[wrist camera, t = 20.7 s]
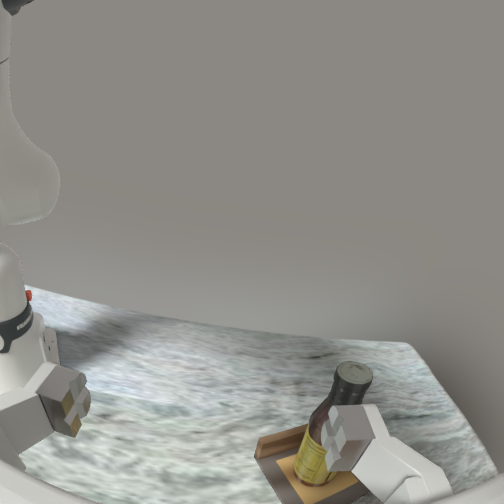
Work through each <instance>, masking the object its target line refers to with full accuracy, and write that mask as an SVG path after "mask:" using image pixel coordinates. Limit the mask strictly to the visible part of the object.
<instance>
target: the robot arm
mask: <svg viewBox="0 0 504 504" xmlns="http://www.w3.org/2000/svg"><path fill="white" fill-rule="evenodd" d="M32 1H34V0H0V225H19V224H23V223H28V222H32V221H35V220H39V219H43V218H46V216H48V214H49V213H50V212H51V210H52V209H53V207H54V206H55V204H56V201H57V199H58V195H59V191H60V176H59V171H58V168H57V165H56V164H55V162H54V160H53V159H52V157H51V156H50V155H49V154H48V153H46V152H44V151H42V150H41V149H39V148H38V147H37V146H35V145H34V144H33V143H32V142H31V141H30V140H29V139H28V138H27V136H26V135H25V134H24V133H23V131H22V130H21V128H20V127H19V125H18V123H17V121H16V119H15V116H14V113H13V110H12V105H11V97H10V83H9V65H10V44H11V42H10V41H11V15H12V16H13V15H15V14H17V13H18V12H19V10H20V8H21V7H22V6H24V5H26V4H28V3H30V2H32ZM31 299H32V293H31V290H27V291H25V287H24V281H23V273H22V266H21V262H20V260H19V258H18V256H17V254H16V253H15V252H14V251H13V250H12V249H11V248H10V247H8V246H7V245H5V244H3V243H2V242H0V504H102V503H99V502H96V501H93V500H90V499H87V498H84V497H81V496H79V495H76V494H73V493H71V492H68V491H66V490H63V489H61V488H59V487H56V486H54V485H52V484H49V483H47V482H45V481H43V480H41V479H39V478H37V477H35V476H32V475H30V474H28V473H27V472H25V469H26V467H25V464H24V463H23V461H22V460H21V458H20V457H19V454H20V453H22V452H23V451H25V450H27V449H28V448H30V447H31V446H33V445H35V444H36V443H38V442H39V441H41V440H42V439H44V438H46V437H47V436H49V435H50V434H52V433H53V432H54V431H56V432H59V433H62V434H64V435H67V436H70V437H73V438H75V437H76V435H77V433H78V431H79V429H80V427H81V425H82V424H81V421H80V419H81V418H83V417H85V416H86V415H87V413H88V411H89V408H90V403H91V396H90V392H89V390H88V389H87V388H86V387H85V384H86V382H87V380H86V376H85V374H84V373H82V372H79V371H75V370H72V369H69V368H66V367H63V366H61V365H60V360H59V352H58V344H57V336H56V332H55V330H54V329H52V328H49V327H45V324H44V319H43V316H42V315H41V314H39V313H37V312H34V311H32V307H31V305H30V303H29V301H31ZM328 415H329V419H328V420H327V421H325V422H324V424H323V427H322V431H321V443H322V447H323V448H324V449H325V450H326V451H328V452H327V453H326V455H325V461H326V465H327V470H328V472H337V471H351V470H352V471H351V472H352V473H353V474H354V475H355V476H356V477H357V478H358V479H359V480H360V481H361V482H362V483H363V484H364V485H365V486H366V487H367V488H368V489H369V490H370V491H371V492H372V493H373V494H374V495H375V496H376V497H377V498H378V499H379V500H380V501H381V502H382V503H383V504H504V473H502V474H500V475H498V476H496V477H494V478H492V479H490V480H488V481H486V482H484V483H482V484H480V485H477V486H475V487H473V488H470V489H468V490H466V491H463V492H461V493H458V494H456V495H454V492H453V490H452V488H451V486H450V484H449V482H448V480H447V478H446V476H445V474H444V472H443V470H442V468H440V467H439V466H437V465H436V464H434V463H433V462H431V461H430V460H428V459H426V458H425V457H423V456H422V455H420V454H419V453H418V452H416V451H415V450H413V449H412V448H410V447H409V446H407V445H406V444H404V443H403V442H401V441H400V440H399V439H397V438H396V437H390V434H389V432H388V430H387V428H386V425H385V423H384V421H383V419H382V417H381V414H380V412H379V410H378V408H377V406H376V405H375V404H362V405H338V406H332V407H331V408H330V410H329V413H328Z"/></svg>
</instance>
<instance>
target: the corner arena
mask: <svg viewBox="0 0 504 504" xmlns="http://www.w3.org/2000/svg"><path fill="white" fill-rule="evenodd" d="M307 426H308V424H305V425H302V426H299V427H296V428H293V429H289V430H286V431H283V432H279V433H276V434H272V435H268V436H265V437H261V438H259V440H258V444H257V448H256V451H255V455H254V458H255V459H256V461H257V463H258V464H259V466H260V468H261V470H262V471H263V473H264V475H265V476H266V478H267V480H268V481H269V483H270V484H271V486H272V488H273V489H274V491H275V493H276V494H277V496H278V497H279V499H280V500H281V502H282V504H348V503H350V502H352V501H354V500H356V499H357V498H359V497H361V496H363V495H365V494H366V493H368V492H370V490H369V489H368V488H367V487H366V486H365V485H364V484H363V483H362V482H361V481H360V480H359V479H358V478H357V477H356V476H355V475H354V474H353V473H352V472H351V471H352V470H351V471H337V473H336V475H335V476H334V477H333V478H332V479H331V480H330V482H328V483H327V484H326V485H324V486H319V487H307V486H305V485H303V484H302V483H301V482H299V481H298V480H297V479H296V477H295V476H294V471H293V470H294V469H293V468H294V461H295V459H296V456H297V453H298V451H299V448H300V445H301V443H302V440H303V437H304V435H305V432H306V429H307Z"/></svg>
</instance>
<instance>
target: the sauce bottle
mask: <svg viewBox="0 0 504 504" xmlns="http://www.w3.org/2000/svg"><path fill="white" fill-rule="evenodd" d="M372 379H373V373H372V371H371V370H370V369H369V368H368V367H367V366H365V365H364V364H361V363H358V362H352V361H347V362H343V363H341V364H340V365H339V366H338V367H337V369H336V372H335V374H334V383H333V386H332V389H331V392H330V393H329V395H328V397H327V398H326V399H325V400H324V401H323V402H322V403H321V404H320V406H319V407H318V408H317V409H316V410H315V411H314V412H313V413H312V415H311V417H310V420H309V423H308V426H307V429H306V432H305V435H304V437H303V440H302V443H301V445H300V448H299V451H298V453H297V456H296V459H295V461H294V468H293V469H294V470H293V471H294V476H295V477H296V479H297V480H298V481H299V482H301V483H302V484H303V485H305V486H307V487H319V486H324V485H326V484H327V483H328V482H330V480H331V479H332V478H333V477H334V476H335V475H336V473H337V472H328V470H327V465H326V461H325V455H326V453H327V452H328V451H326V450H325V449H324V448H323V447H322V443H321V431H322V427H323V424H324V422H325V421H327V420H328V419H329V415H328V413H329V410H330V408H331V407H332V406H338V405H361V403H362V399H363V397H364V394H365V392H366V390H367V389H368V388H369V387H370V384H371V382H372Z"/></svg>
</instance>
